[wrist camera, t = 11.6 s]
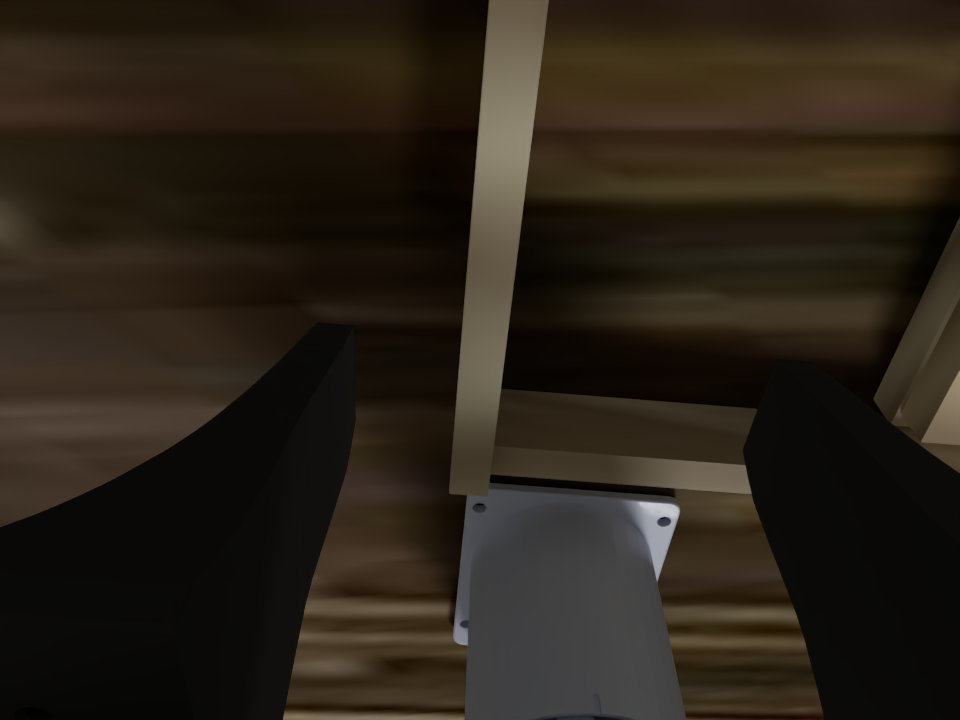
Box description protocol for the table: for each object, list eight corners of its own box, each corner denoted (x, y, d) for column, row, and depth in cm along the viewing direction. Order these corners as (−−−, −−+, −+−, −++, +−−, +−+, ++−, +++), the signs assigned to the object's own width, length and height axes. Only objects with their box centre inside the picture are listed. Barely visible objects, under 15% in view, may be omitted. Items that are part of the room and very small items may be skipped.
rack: (975, 452, 27) (1040, 537, 24) (455, 412, 27) (449, 493, 23) (1276, -49, 18) (1448, -23, 15) (498, -126, 18) (499, -117, 14)
